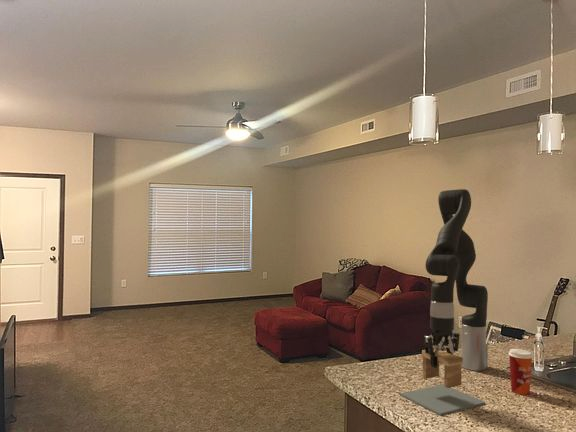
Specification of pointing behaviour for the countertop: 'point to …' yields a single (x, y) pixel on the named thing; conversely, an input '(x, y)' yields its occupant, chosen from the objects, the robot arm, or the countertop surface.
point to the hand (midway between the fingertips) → (441, 365)
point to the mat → (442, 399)
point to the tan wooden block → (451, 368)
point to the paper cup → (520, 370)
